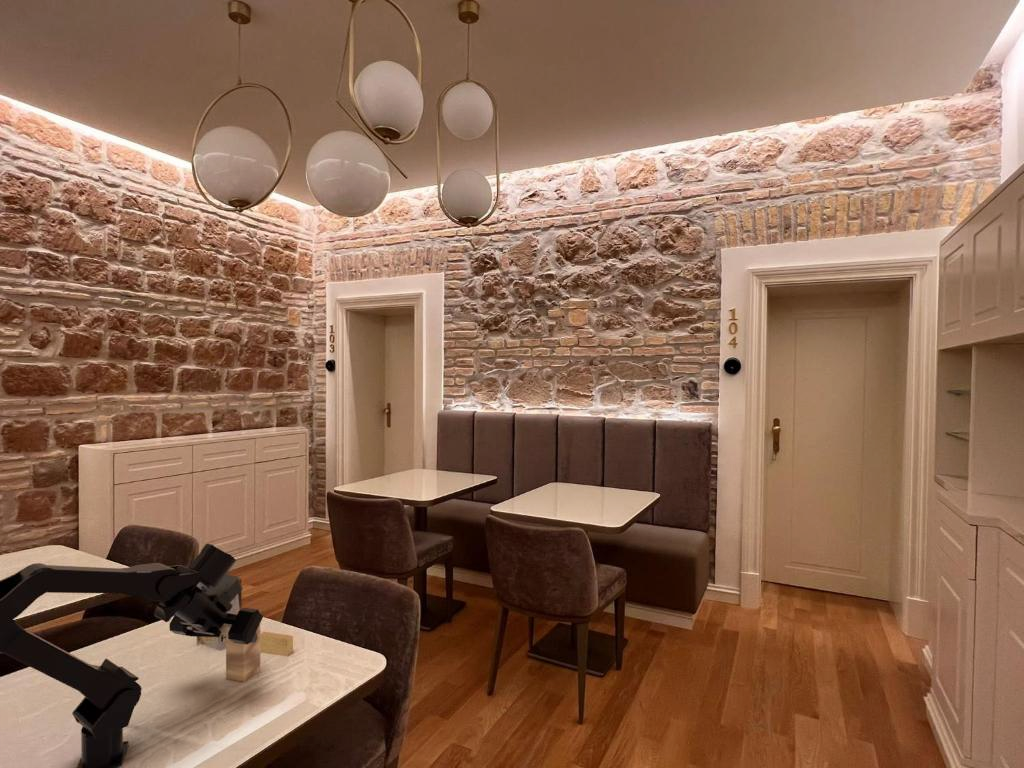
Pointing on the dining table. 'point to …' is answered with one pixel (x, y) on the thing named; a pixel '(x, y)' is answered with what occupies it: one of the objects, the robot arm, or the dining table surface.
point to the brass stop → (276, 643)
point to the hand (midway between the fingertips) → (237, 637)
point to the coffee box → (220, 641)
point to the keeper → (242, 658)
